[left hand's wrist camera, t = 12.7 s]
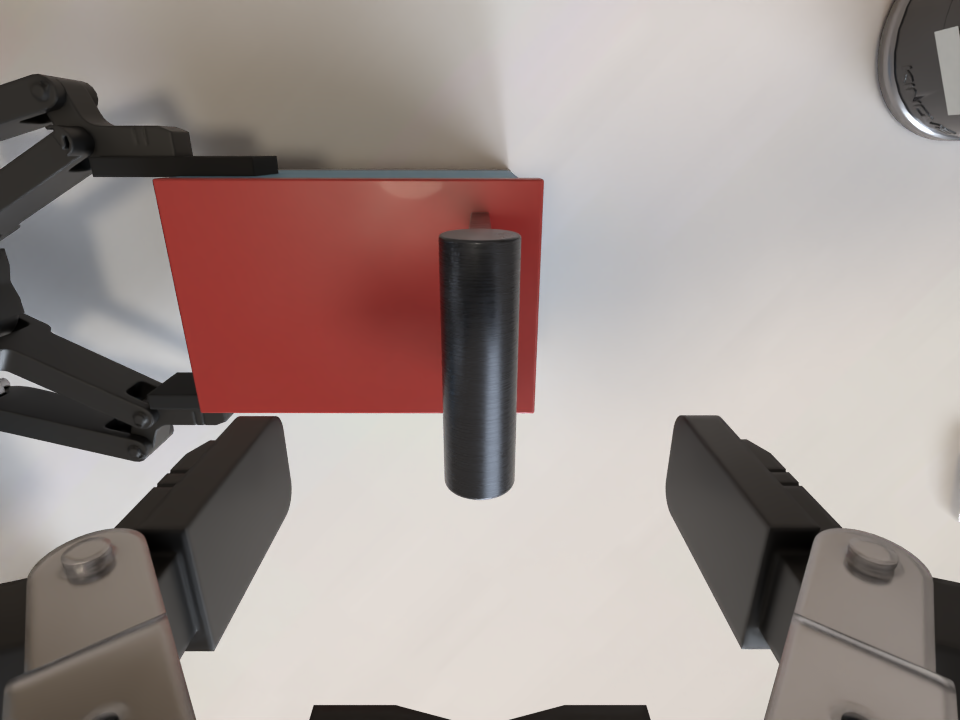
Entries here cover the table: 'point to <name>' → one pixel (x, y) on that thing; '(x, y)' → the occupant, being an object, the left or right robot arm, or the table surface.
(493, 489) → the lid
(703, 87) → the table surface
